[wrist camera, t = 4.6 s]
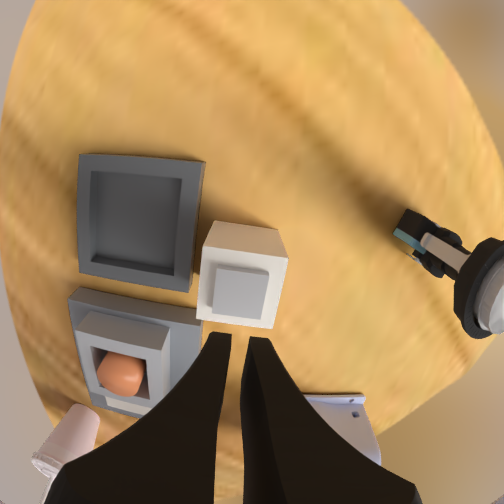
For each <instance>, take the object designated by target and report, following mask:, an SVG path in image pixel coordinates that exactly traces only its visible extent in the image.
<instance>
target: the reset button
mask: <svg viewBox="0 0 504 504" xmlns="http://www.w3.org/2000/svg"><path fill="white" fill-rule="evenodd" d="M146 368H147V364H146V360H145V359H141V358H136V357H132V356H128V355H124V354H120V353H116V352H112V351H108V352H107V354H106V356H105V357H104V359H103V361H102V362H101V364H100V366H99V368H98V370H97V377H98V380H99V381H100V383H101V384H102V385H103V386H104V387H105V388H106V389H107V390H109V391H110V392H112V393H114V394H116V395H119V396H124V397H130V396H133V395H135V394H136V393H137V391H138V389H139V386H140V384H141V381H142V379H143V376H144V373H145V371H146Z"/></svg>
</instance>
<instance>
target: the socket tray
mask: <svg viewBox="0 0 504 504" xmlns="http://www.w3.org/2000/svg"><path fill="white" fill-rule="evenodd" d="M205 163H206V162H199V161H190V160H181V159H171V158H160V157H148V156H134V155H117V154H94V153H89V154H79V165H78V183H77V242H78V260H79V273H83V274H88V275H93V276H98V277H103V278H108V279H113V280H118V281H123V282H129V283H134V284H139V285H145V286H151V287H156V288H162V289H168V290H174V291H180V292H186V293H189V290H190V287H191V285H192V278H193V267H194V256H195V246H196V236H197V226H198V218H199V209H200V201H201V193H202V185H203V177H204V170H205Z"/></svg>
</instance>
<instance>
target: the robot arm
mask: <svg viewBox="0 0 504 504" xmlns="http://www.w3.org/2000/svg"><path fill="white" fill-rule="evenodd" d="M231 338H232V334H228V333H220V332H211V333H210V334H209V336H208V339H207V341H206V343H205V345H204V347H203V348H202V350H201V352H200V353H199V355H198V356H197V358H196V359H195V361H194V362H193V363H192V365H191V366H190V368H189V369H188V370H187V372H186V373H185V374H184V375H183V377H182V378H181V379H180V380H179V381H178V383H177V384H176V385H175V386H174V387H173V388H172V390H171V391H170V392H169V393H168V394H167V395H166V396H165V397H164V398H163V399H162V400H161V401H160V402H159V403H158V404H157V405H156V406H155V407H154V408H152V409H151V410H150V411H149V412H148V413H147V414H145V415H144V416H143V417H142V418H141V419H139V420H138V421H137V422H136V423H134V424H133V425H132V426H130V427H129V428H128V429H126V430H125V431H123V432H122V433H120V434H119V435H117V436H116V437H114V438H113V439H111V440H110V441H108V442H106V443H105V444H103V445H102V446H100V447H98V448H96V449H94V450H92V451H90V452H88V453H86V454H84V455H82V456H80V457H78V458H76V459H74V460H72V461H70V462H67V463H65V464H64V465H63V467H62V468H61V469H60V471H59V472H58V474H57V476H56V477H55V479H54V481H53V482H52V484H51V487H50V489H49V492H48V494H47V497H46V499H45V502H44V504H214V480H215V460H216V443H217V428H218V423H219V418H220V413H221V408H222V403H223V396H224V390H225V383H226V377H227V371H228V364H229V358H230V352H231ZM365 399H366V398H365V396H364V395H363V394H357V395H303V394H302V393H301V391H300V390H299V388H298V387H297V385H296V384H295V382H294V381H293V379H292V378H291V376H290V375H289V373H288V372H287V370H286V368H285V367H284V365H283V363H282V362H281V360H280V358H279V356H278V355H277V353H276V351H275V349H274V347H273V345H272V343H271V341H270V340H269V339H268V338H261V337H252V336H250V339H249V344H248V349H247V354H246V359H245V364H244V369H243V374H242V379H241V394H240V412H241V426H242V439H243V452H244V494H243V504H422V501H421V498H420V495H419V493H418V491H417V488H416V486H415V484H413V483H411V482H409V481H407V480H405V479H403V478H401V477H399V476H398V475H396V474H394V473H392V472H390V471H388V470H386V469H384V468H383V467H381V455H380V449H379V446H378V442H377V440H376V437H375V434H374V432H373V429H372V427H371V424H370V421H369V419H368V416H367V414H366V411H365V408H364V406H363V403H364V401H365ZM0 504H5V503H3V502H2V501H0ZM491 504H504V495H503V496H501V497H500V498H498V499H497V500H496V501H494V502H493V503H491Z"/></svg>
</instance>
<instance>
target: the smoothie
mask: <svg viewBox="0 0 504 504" xmlns="http://www.w3.org/2000/svg"><path fill="white" fill-rule="evenodd" d="M99 423H100V418H99V416H98V415H97V414H96V413H95V412H94V411H93V410H91V409H90V408H88V407H87V406H85V405H82V404H78V403H76V404H73V405H72V407H71V408H70V409H69V410H68V412H67V413H66V414H65V416H64V417H63V418H62V420H61V421H60V422H59V424H58V425H57V426H56V428H55V429H54V430H53V432H52V433H51V435H50V436H49V437H48V439H47V440H46V441H45V443H44V444H43V445H42V447H41V448H40V450H39V451H38V452H34V453H33V456H32V458H31V462H32V463H33V465H34V466H35V467H36V468H37V469H38V470H39V471H40V472H42V473H43V474H44V475H46V476H47V477H48V478H49V480H48V483H47V485H46V488H45V490H44V493H43V495H42V498H41V500H40V503H39V504H44V502H45V499H46V497H47V494H48V492H49V489H50V487H51V484H52V482H53V481H54V479H55V477H56V476H57V474H58V472H59V471H60V469H61V468H62V467H63V465H64V464H65V463H67V462H70V461H72V460H74V459H76V458H78V457H80V456H82V455H84V454H86V453H88V452H90V451H92V450H93V447H94V443H95V439H96V435H97V431H98V427H99Z"/></svg>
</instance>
